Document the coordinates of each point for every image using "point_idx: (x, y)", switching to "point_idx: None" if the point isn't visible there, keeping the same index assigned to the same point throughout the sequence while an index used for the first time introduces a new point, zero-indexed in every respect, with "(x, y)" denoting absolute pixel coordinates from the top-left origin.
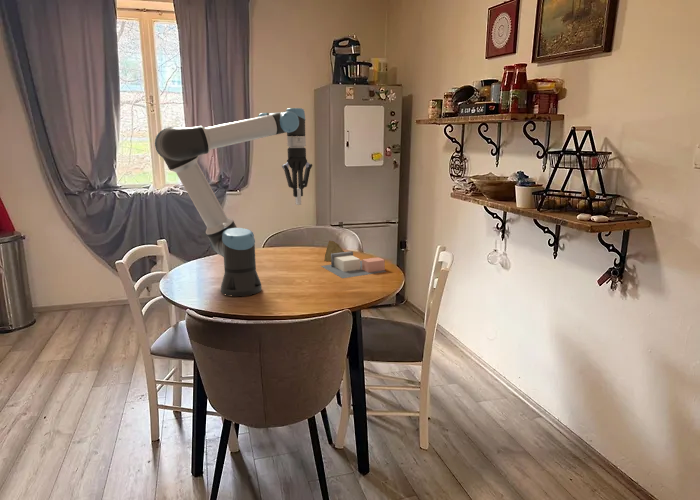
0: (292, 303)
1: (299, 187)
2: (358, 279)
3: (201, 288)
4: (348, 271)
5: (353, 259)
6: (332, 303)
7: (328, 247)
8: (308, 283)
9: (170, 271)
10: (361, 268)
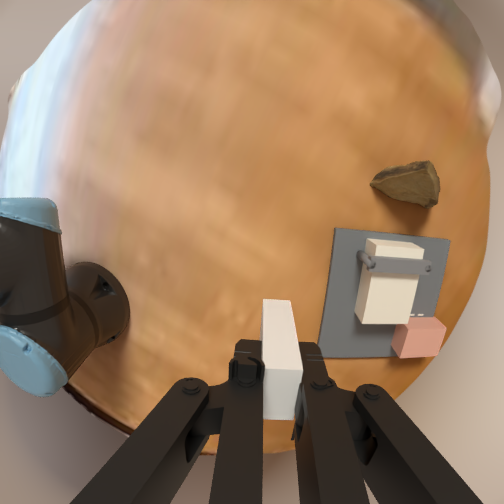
0: None
1: (298, 406)
2: (349, 361)
3: None
4: None
5: (392, 320)
6: None
7: (407, 177)
8: (237, 334)
9: (19, 82)
10: None
